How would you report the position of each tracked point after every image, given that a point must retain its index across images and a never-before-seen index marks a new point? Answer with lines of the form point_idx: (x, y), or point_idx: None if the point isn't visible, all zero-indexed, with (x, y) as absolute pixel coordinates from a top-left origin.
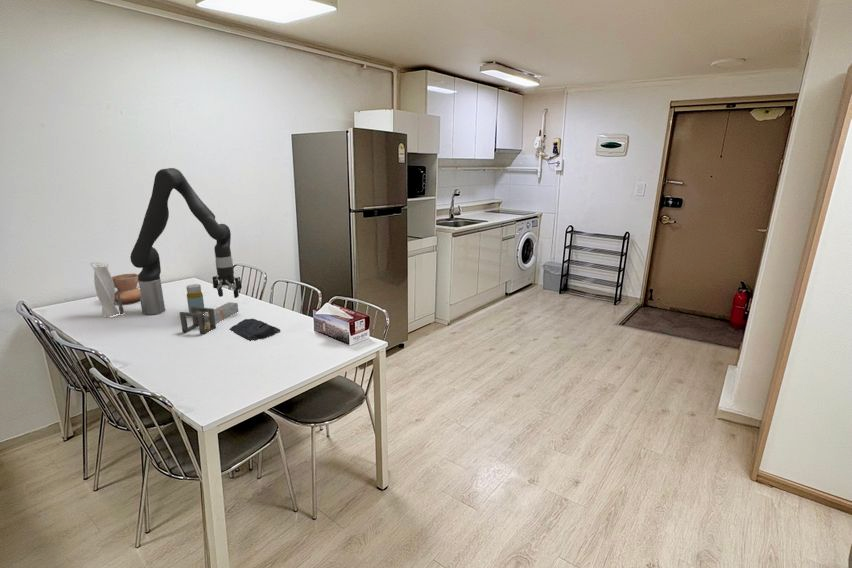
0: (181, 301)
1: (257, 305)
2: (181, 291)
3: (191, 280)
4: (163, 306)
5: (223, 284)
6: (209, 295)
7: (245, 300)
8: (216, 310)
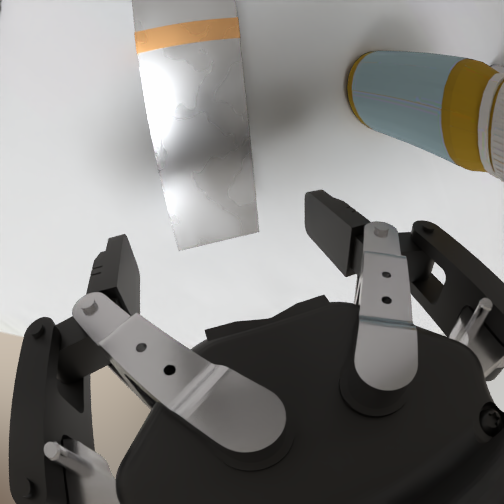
0: (477, 212)
1: (170, 330)
2: None
3: None
4: None
5: (323, 312)
6: None
7: None
8: (193, 25)
